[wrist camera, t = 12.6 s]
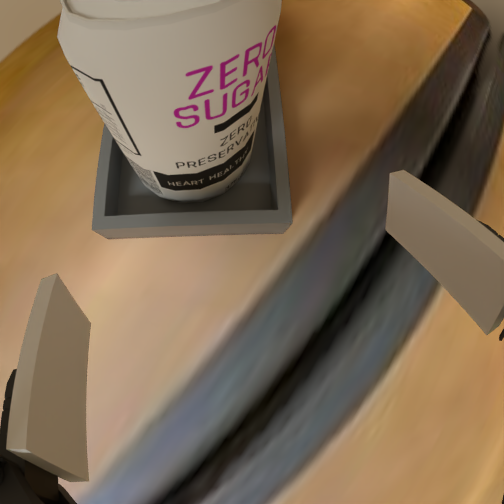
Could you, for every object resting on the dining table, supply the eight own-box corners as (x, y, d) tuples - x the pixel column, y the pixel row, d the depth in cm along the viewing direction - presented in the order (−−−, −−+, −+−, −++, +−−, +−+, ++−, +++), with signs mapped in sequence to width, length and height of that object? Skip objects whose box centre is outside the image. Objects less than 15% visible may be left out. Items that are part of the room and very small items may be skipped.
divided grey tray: (108, 239, 20) (91, 229, 17) (144, 15, 24) (139, -5, 21) (283, 233, 21) (292, 222, 19) (262, 10, 25) (266, -11, 22)
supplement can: (162, 95, 22) (124, -71, 7) (264, 120, 22) (309, -58, 7) (118, 188, 20) (0, 42, 6) (230, 221, 21) (248, 56, 6)
